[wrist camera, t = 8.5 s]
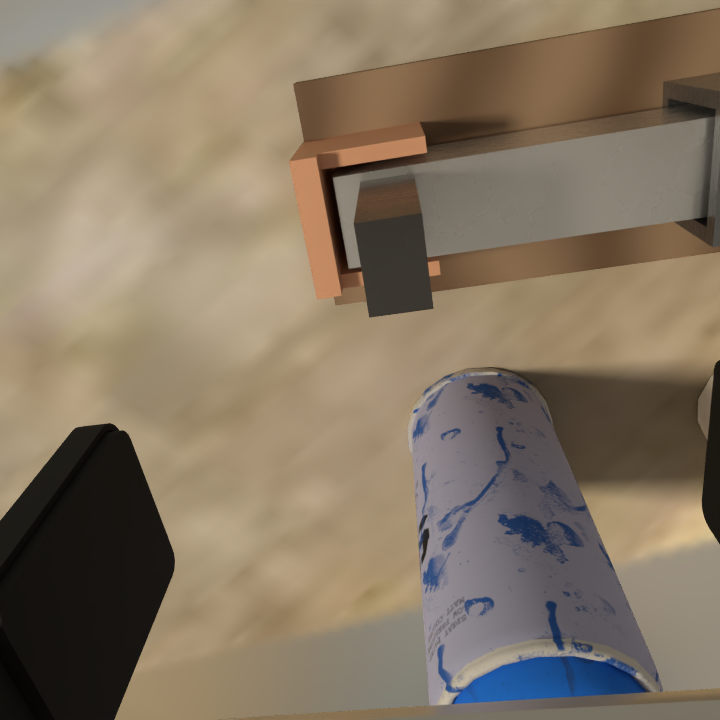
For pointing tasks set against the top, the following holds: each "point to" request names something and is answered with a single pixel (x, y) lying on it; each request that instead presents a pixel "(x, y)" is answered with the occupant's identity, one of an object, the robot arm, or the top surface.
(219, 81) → the top surface
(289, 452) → the top surface
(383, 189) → the square sliding rod
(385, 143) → the socket block
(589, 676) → the aerosol can
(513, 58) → the track board
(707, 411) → the foam cup
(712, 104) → the outer sleeve
